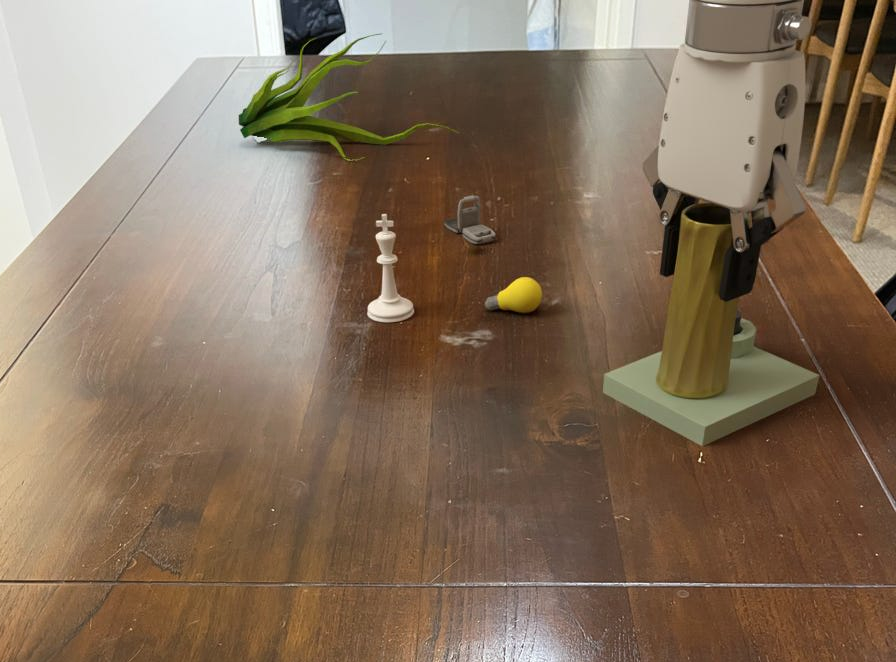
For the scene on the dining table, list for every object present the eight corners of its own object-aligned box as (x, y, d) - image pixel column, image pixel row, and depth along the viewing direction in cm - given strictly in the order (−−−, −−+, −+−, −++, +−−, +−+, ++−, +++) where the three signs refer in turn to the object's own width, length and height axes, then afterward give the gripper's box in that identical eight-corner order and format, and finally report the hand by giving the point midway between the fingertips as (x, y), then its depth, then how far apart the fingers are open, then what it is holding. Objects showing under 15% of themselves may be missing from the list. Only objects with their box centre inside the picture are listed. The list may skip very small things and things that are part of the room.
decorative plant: (377, 181, 139) (368, 60, 129) (235, 146, 154) (218, 36, 144) (459, 147, 148) (457, 32, 139) (318, 117, 164) (308, 12, 154)
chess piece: (371, 302, 108) (363, 206, 101) (417, 303, 107) (412, 206, 100) (363, 322, 104) (354, 223, 97) (410, 323, 103) (405, 223, 97)
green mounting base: (715, 344, 97) (721, 309, 94) (821, 391, 89) (830, 354, 86) (599, 391, 91) (602, 355, 88) (702, 447, 83) (708, 408, 80)
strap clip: (498, 241, 119) (498, 204, 117) (475, 246, 118) (475, 209, 116) (463, 220, 125) (463, 184, 122) (441, 225, 124) (441, 189, 121)
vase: (685, 406, 84) (710, 233, 75) (640, 377, 88) (659, 210, 79) (742, 387, 86) (774, 216, 77) (696, 360, 90) (720, 194, 81)
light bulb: (545, 315, 103) (536, 288, 100) (490, 329, 105) (479, 303, 102) (546, 293, 105) (537, 266, 102) (491, 307, 107) (481, 280, 104)
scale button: (721, 322, 93) (724, 304, 92) (745, 332, 91) (748, 313, 90) (700, 330, 92) (702, 312, 91) (723, 341, 90) (726, 322, 89)
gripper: (884, 35, 65) (822, 304, 77) (688, 3, 76) (661, 243, 88) (807, 55, 62) (755, 332, 74) (615, 18, 73) (597, 265, 85)
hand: (705, 281), depth 81 cm, fingers open, 5 cm apart
